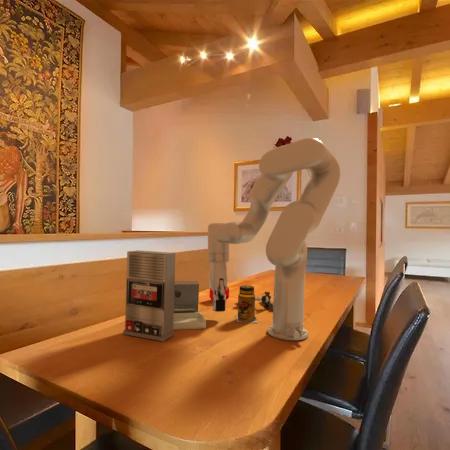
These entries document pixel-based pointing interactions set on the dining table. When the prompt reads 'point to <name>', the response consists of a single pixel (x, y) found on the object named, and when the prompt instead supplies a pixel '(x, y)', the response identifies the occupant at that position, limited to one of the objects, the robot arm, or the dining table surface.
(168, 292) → the cassette tape recorder
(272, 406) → the dining table surface
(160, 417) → the dining table surface
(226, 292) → the ball
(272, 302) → the valve rest
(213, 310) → the cylinder
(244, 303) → the condiment
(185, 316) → the tray
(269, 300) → the valve
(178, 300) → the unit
